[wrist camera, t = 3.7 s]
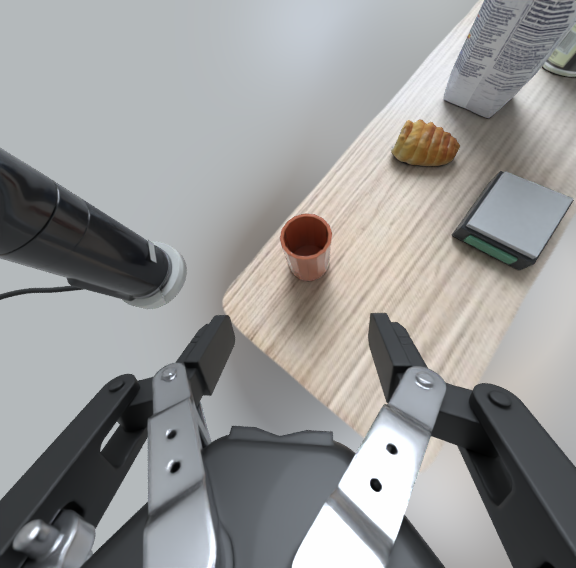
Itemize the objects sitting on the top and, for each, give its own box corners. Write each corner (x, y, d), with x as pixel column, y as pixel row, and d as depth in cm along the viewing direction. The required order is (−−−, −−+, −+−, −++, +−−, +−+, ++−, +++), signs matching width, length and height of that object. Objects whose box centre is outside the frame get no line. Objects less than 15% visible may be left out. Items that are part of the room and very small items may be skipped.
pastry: (457, 144, 35) (473, 120, 32) (446, 176, 34) (461, 155, 30) (399, 132, 38) (407, 109, 34) (386, 162, 36) (393, 141, 33)
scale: (517, 272, 28) (537, 264, 26) (449, 237, 31) (461, 227, 28) (556, 210, 30) (579, 196, 27) (489, 182, 33) (504, 167, 30)
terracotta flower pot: (304, 288, 32) (299, 269, 24) (281, 259, 34) (270, 232, 26) (337, 265, 32) (342, 239, 25) (313, 237, 34) (311, 205, 27)
